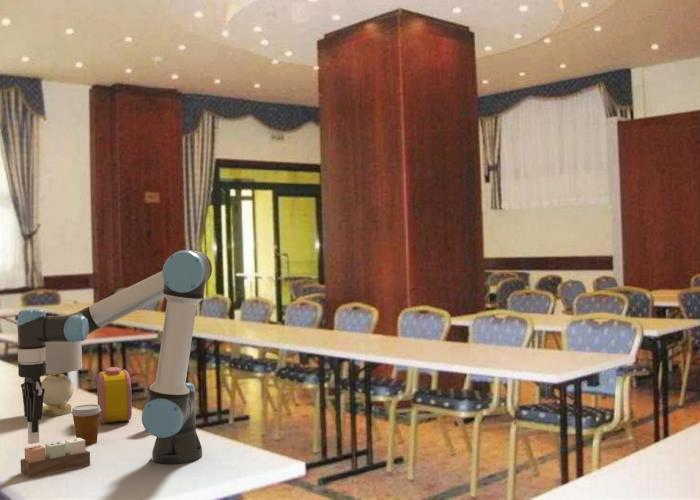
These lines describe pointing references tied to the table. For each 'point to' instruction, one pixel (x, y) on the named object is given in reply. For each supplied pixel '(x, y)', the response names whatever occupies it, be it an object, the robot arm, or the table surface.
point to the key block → (55, 464)
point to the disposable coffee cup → (86, 422)
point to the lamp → (60, 376)
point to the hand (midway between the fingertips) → (33, 442)
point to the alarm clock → (114, 395)
